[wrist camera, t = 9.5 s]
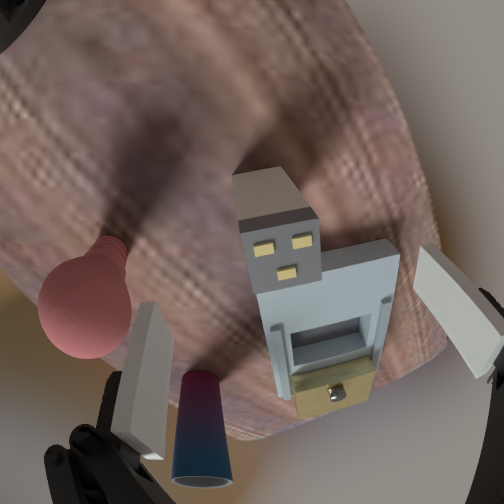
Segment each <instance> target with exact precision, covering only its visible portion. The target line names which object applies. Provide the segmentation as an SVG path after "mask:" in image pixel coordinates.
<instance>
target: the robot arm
mask: <svg viewBox="0 0 504 504" xmlns="http://www.w3.org/2000/svg"><path fill="white" fill-rule="evenodd" d="M44 1H45V0H0V53H2V52H3V51H4V50H5V49H6V48H7V47H9V46H10V45H11V44H12V43H13V42H14V41H15V40H16V39H17V38H18V36H19V35H20V34H21V33H22V32H23V31H24V30H25V28H26V27H27V26H28V25H29V23H30V22H31V21H32V19H33V18H34V16H35V15H36V14H37V12H38V11H39V9H40V8H41V6H42V4H43V3H44ZM413 289H414V290H415V292H416V293H417V294H418V295H419V297H420V298H421V299H422V301H423V302H424V303H425V305H426V306H427V307H428V309H429V310H430V311H431V313H432V314H433V315H434V317H435V318H436V319H437V321H438V322H439V324H440V325H441V326H442V328H443V329H444V331H445V332H446V334H447V335H448V336H449V338H450V339H451V341H452V342H453V344H454V345H455V347H456V348H457V349H458V351H459V353H460V354H461V355H462V357H463V359H464V360H465V362H466V363H467V365H468V366H469V368H470V370H471V371H472V373H473V374H474V376H475V377H476V379H477V378H479V377H480V376H482V375H483V374H485V373H487V372H488V371H489V369H490V368H491V366H492V365H493V364H494V365H495V367H496V368H495V370H494V371H493V373H492V374H491V376H490V377H489V379H488V381H487V383H489V382H490V381H491V379H492V378H493V382H492V393H491V402H490V409H489V416H488V421H487V427H486V432H485V437H484V441H483V446H482V450H481V455H480V458H479V463H478V466H477V470H476V473H475V476H474V479H473V483H472V486H471V489H470V492H469V494H468V497H467V500H466V503H465V504H504V308H502V307H501V305H500V304H499V303H498V302H496V299H495V298H494V297H493V296H492V295H491V294H490V293H489V292H487V291H486V290H484V289H482V288H479V289H477V288H476V287H475V285H474V284H473V283H472V282H471V281H470V280H469V279H468V278H467V277H466V276H465V275H464V274H463V273H462V272H461V271H460V270H459V269H458V268H457V267H456V266H455V265H454V264H453V263H452V262H451V261H450V260H449V259H448V258H447V257H446V256H445V255H444V254H443V253H442V252H441V251H440V250H439V249H438V248H437V247H435V246H434V245H433V244H432V243H429V244H425V245H421V246H420V251H419V257H418V263H417V269H416V275H415V280H414V285H413ZM173 348H174V339H173V337H172V335H171V333H170V331H169V329H168V327H167V325H166V323H165V321H164V319H163V317H162V315H161V313H160V311H159V309H158V307H157V304H156V302H155V301H152V302H146V303H140V307H139V310H138V313H137V317H136V320H135V324H134V328H133V331H132V335H131V339H130V343H129V347H128V351H127V355H126V359H125V363H124V367H123V371H115V372H112V374H111V375H110V377H109V378H108V380H107V382H106V386H105V390H104V394H103V398H102V403H101V407H100V411H99V416H98V420H97V425H96V428H94V427H93V426H91V425H89V424H81V425H79V426H77V427H76V428H75V429H74V430H73V431H72V433H71V435H70V438H69V444H70V448H71V449H65V448H64V447H63V446H61V445H58V444H57V445H52V446H51V447H49V448H48V450H47V451H46V453H45V455H44V464H45V469H46V475H47V480H48V484H49V489H50V493H51V498H52V501H53V504H176V503H175V502H174V501H173V500H172V499H171V498H170V496H169V495H168V494H167V493H166V492H165V491H164V490H163V488H161V486H160V485H159V484H158V483H157V481H156V480H155V479H154V478H153V477H152V475H151V474H150V473H149V472H148V470H147V469H146V468H145V466H144V465H143V464H142V463H141V462H140V454H141V455H142V456H143V457H145V458H146V459H164V454H165V436H166V421H167V408H168V397H169V386H170V376H171V366H172V357H173Z"/></svg>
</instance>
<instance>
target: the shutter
mask: <svg viewBox="0 0 504 504" xmlns="http://www.w3.org/2000/svg"><path fill="white" fill-rule="evenodd" d="M375 372H376V370H375V368H374V366H373V364H372V362H371V359H370V357H369V356H366V357H363V358H360V359H356V360H353V361H349V362H346V363H342V364H339V365H335V366H331V367H327V368H324V369H320V370H316V371H311V372H307V373H303V374H299V375H294V376H291V378H292V386H293V394H294V401H295V407H296V412H297V416H298V419H302V418H306V417H310V416H315V415H319V414H323V413H326V412H330V411H334V410H338V409H341V408H345V407H348V406H351V405H354V404H358V403H361V402H364V401H367V399H368V396H369V392H370V389H371V386H372V382H373V379H374V375H375Z"/></svg>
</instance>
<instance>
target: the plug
mask: <svg viewBox="0 0 504 504" xmlns="http://www.w3.org/2000/svg"><path fill="white" fill-rule="evenodd" d="M232 181H233V188H234V194H235V201H236V208H237V215H238V222H239V229H240V235H241V240H242V244H243V249H244V253H245V258H246V262H247V267H248V271H249V276H250V280H251V285H252V289H253V294H254V295H255V294H260V293H265V292H270V291H275V290H280V289H284V288H289V287H294V286H298V285H303V284H308V283H312V282H317V281H321V280H322V269H321V247H320V230H319V218H318V216H317V215H316V214H315V212H314V211H313V209H312V208H311V207H310V205H309V204H308V202H307V201H306V200H305V198H304V197H303V195H302V194H301V193H300V191H299V190H298V189H297V187H296V186H295V184H294V183H293V182H292V180H291V179H290V178H289V176H288V175H287V174H286V172H285V171H284V170H283V168H282V167H281V166H278V167H273V168H267V169H262V170H256V171H251V172H246V173H241V174H236V175H232Z"/></svg>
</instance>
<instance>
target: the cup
mask: <svg viewBox="0 0 504 504" xmlns="http://www.w3.org/2000/svg"><path fill="white" fill-rule="evenodd" d="M171 481H172V482H173V483H175V484H177V485H181V486H186V487H193V488H218V487H225V486H228V485H231V484H232V483H233V479H232V473H231V467H230V461H229V454H228V448H227V442H226V434H225V427H224V419H223V412H222V404H221V396H220V388H219V380H218V378H217V377H216V376H215V375H214V374H212V373H210V372H206V371H192V372H188V373H186V374H185V375H184V376H183V377H182V383H181V391H180V399H179V408H178V416H177V425H176V435H175V445H174V455H173V466H172V478H171Z"/></svg>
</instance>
